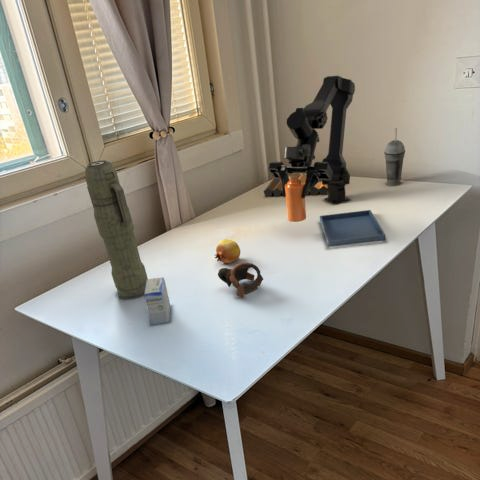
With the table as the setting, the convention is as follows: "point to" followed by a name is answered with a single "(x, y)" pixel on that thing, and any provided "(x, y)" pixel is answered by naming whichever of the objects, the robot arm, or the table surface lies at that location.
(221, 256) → the fruit
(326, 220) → the blue rectangular tray
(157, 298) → the medicine box
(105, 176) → the thermos
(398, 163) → the beverage cup
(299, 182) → the orange bottle
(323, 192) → the pan flute
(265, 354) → the table surface
